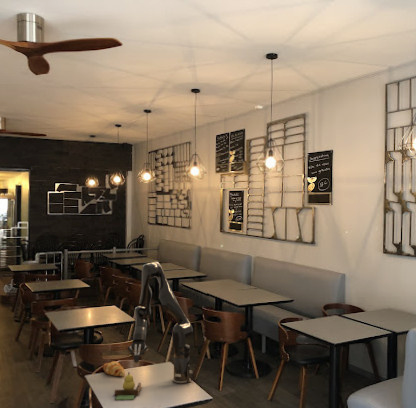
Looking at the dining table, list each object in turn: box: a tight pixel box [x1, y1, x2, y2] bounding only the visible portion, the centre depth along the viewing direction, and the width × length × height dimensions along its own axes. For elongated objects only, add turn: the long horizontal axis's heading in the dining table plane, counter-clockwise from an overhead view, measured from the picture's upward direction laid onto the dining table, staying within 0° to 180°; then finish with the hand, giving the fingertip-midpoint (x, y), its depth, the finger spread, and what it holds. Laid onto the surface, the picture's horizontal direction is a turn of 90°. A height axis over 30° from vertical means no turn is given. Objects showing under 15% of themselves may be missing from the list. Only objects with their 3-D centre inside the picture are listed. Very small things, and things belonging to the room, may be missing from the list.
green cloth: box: [115, 395, 136, 401], centre depth 241 cm, size 9×5×1 cm, turn 93°
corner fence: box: [114, 382, 142, 397], centre depth 249 cm, size 12×11×3 cm
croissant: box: [102, 360, 126, 377], centre depth 277 cm, size 21×10×8 cm, turn 50°
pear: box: [122, 371, 136, 389], centre depth 249 cm, size 6×6×11 cm
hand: (136, 362), depth 267 cm, fingers closed
